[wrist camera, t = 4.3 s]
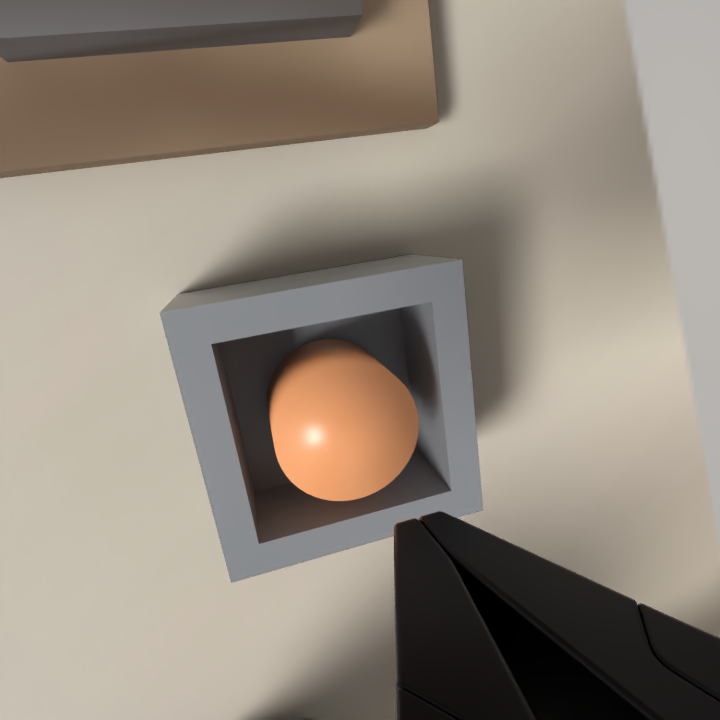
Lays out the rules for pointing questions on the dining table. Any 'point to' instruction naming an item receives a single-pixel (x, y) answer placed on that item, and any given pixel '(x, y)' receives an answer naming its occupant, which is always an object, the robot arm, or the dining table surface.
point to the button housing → (250, 387)
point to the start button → (340, 420)
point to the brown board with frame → (204, 77)
